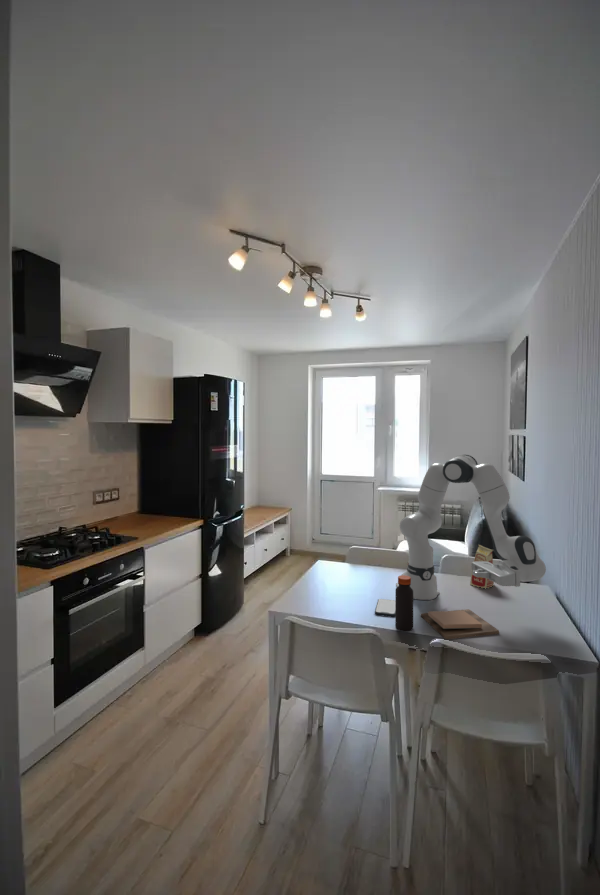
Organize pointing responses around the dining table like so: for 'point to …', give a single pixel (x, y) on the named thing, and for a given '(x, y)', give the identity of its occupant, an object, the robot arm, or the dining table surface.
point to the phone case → (385, 607)
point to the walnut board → (462, 632)
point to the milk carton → (482, 555)
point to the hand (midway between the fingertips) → (474, 574)
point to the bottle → (404, 604)
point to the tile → (454, 619)
